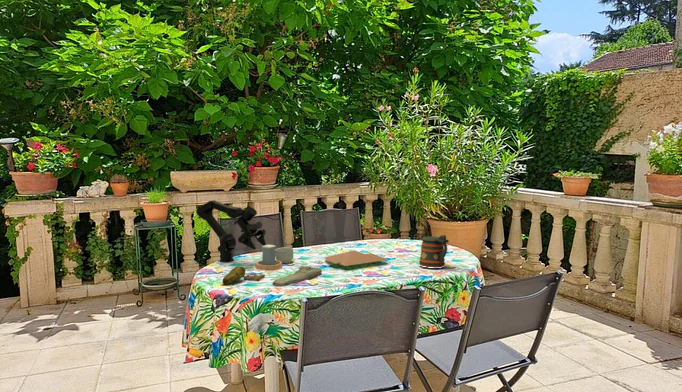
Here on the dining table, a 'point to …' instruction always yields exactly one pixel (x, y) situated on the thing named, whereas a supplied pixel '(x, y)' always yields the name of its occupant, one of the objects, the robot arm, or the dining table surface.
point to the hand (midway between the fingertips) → (260, 247)
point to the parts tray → (254, 278)
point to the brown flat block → (353, 259)
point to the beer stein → (433, 251)
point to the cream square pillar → (268, 254)
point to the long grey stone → (298, 276)
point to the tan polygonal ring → (270, 267)
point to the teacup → (284, 254)
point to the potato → (234, 275)
